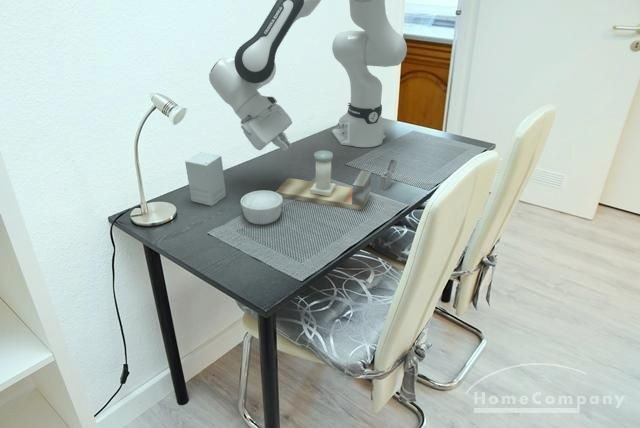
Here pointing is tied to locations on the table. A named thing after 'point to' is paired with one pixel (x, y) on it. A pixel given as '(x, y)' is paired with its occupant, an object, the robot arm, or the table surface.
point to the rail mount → (339, 196)
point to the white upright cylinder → (323, 174)
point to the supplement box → (206, 178)
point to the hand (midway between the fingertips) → (288, 148)
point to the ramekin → (262, 206)
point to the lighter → (388, 175)
